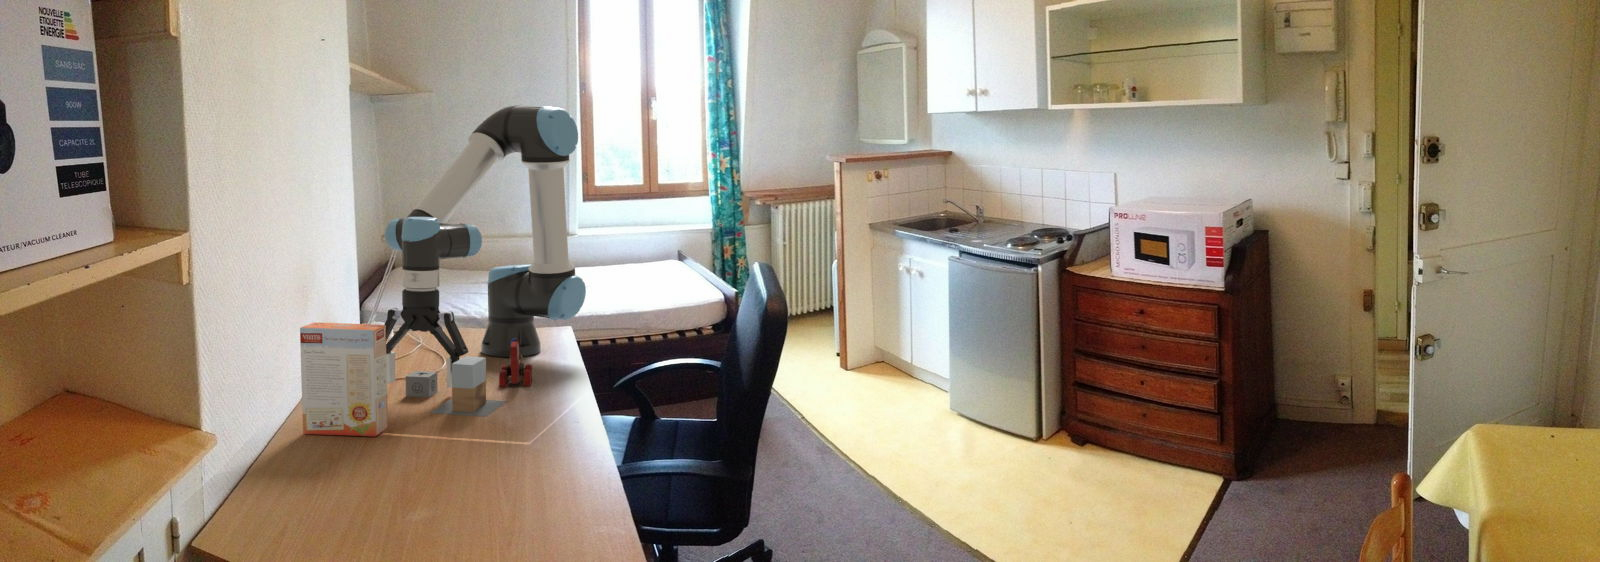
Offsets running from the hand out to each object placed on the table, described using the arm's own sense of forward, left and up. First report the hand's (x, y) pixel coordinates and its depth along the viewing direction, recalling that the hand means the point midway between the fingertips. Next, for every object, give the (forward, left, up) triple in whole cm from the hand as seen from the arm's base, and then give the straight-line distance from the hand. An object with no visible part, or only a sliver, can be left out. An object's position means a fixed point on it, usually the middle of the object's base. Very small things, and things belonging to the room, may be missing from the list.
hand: (420, 384), depth 215 cm
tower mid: (+8, +14, +3) cm, 16 cm away
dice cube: (0, 0, -3) cm, 3 cm away
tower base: (+8, +14, -2) cm, 16 cm away
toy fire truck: (-14, +16, -3) cm, 22 cm away
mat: (+8, +14, -3) cm, 16 cm away
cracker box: (+28, -2, -3) cm, 28 cm away
